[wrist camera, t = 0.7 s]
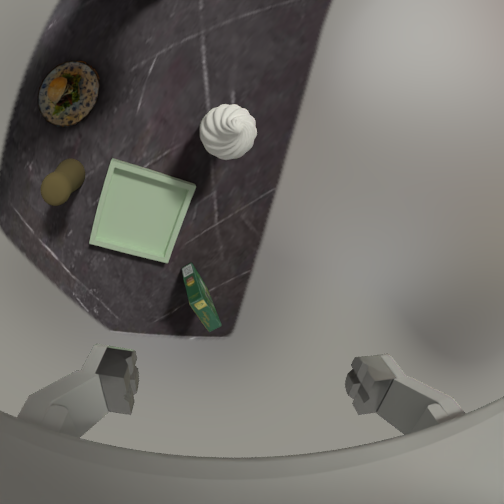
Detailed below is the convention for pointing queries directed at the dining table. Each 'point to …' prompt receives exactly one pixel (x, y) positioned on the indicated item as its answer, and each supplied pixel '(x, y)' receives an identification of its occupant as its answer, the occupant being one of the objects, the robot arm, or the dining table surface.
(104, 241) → the tray
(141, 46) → the dining table surface
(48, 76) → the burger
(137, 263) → the dining table surface
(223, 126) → the soft serve ice cream cone
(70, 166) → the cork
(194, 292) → the coffee box
